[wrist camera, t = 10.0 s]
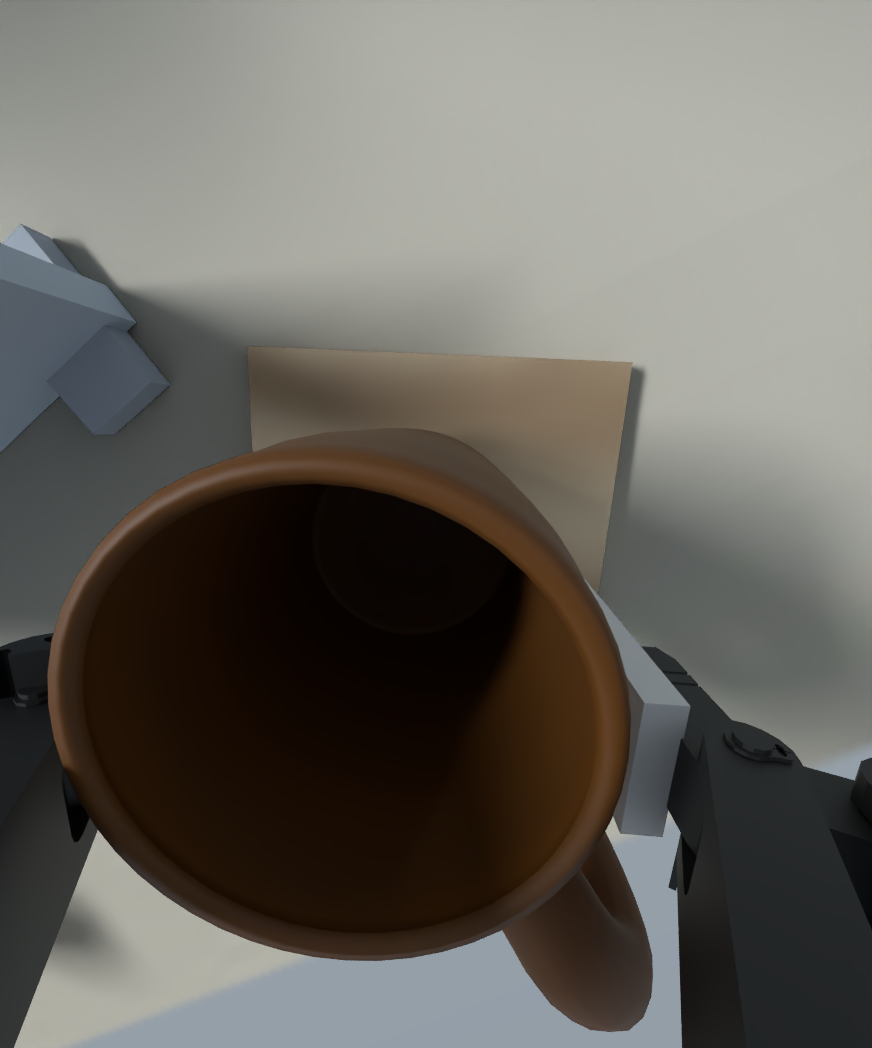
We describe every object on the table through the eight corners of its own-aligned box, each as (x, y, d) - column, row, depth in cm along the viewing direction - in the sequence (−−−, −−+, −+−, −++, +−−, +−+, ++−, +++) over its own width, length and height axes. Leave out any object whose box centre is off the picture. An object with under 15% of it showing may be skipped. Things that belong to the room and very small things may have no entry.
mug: (637, 658, 15) (924, 1029, 6) (464, 761, 16) (476, 1196, 7) (431, 375, 13) (374, 263, 4) (255, 519, 14) (-97, 688, 5)
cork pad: (254, 348, 15) (246, 345, 14) (625, 364, 14) (632, 362, 14) (273, 733, 19) (267, 743, 18) (569, 756, 18) (572, 767, 18)
